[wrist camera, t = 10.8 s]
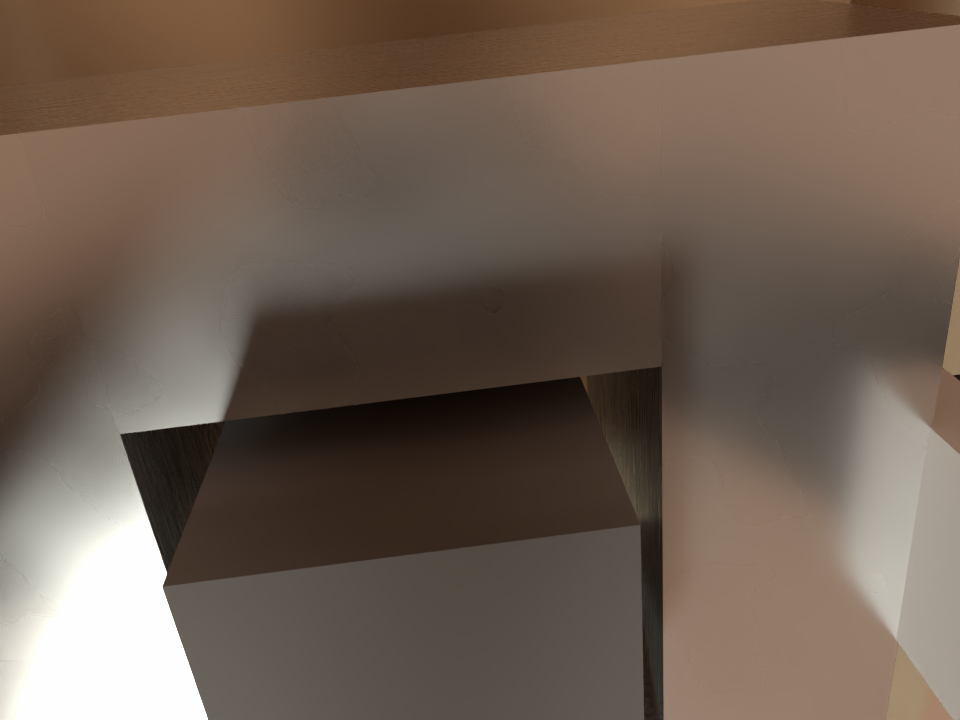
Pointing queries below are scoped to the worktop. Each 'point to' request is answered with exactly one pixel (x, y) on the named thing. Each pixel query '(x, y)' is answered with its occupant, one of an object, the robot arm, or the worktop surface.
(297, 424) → the hub base
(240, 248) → the white square frame
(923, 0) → the worktop surface
